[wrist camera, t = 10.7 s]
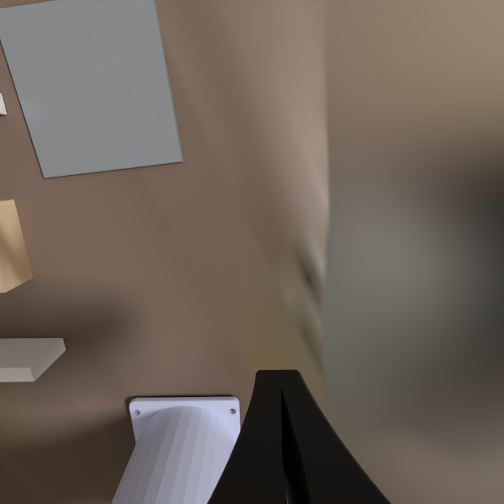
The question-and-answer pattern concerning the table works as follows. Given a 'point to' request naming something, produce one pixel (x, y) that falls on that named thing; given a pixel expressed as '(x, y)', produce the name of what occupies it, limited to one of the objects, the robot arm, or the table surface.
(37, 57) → the slate coaster
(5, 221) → the tile
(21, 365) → the frame
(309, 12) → the table surface
